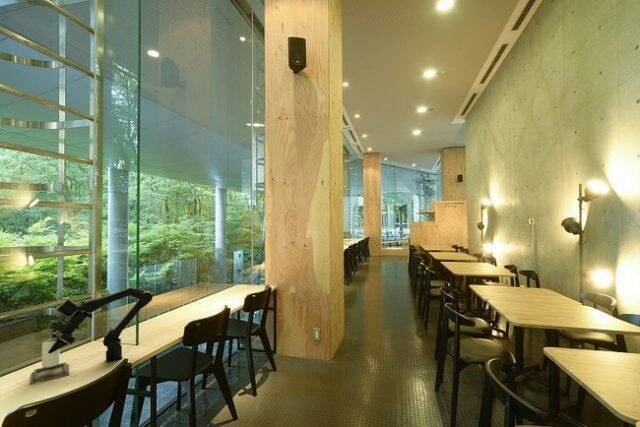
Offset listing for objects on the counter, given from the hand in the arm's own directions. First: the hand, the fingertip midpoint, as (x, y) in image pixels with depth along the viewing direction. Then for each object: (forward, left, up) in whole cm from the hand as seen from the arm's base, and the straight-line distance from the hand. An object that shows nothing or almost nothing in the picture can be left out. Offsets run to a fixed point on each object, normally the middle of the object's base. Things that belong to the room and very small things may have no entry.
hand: (47, 351), depth 153 cm
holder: (-1, 0, -11) cm, 11 cm away
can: (-1, 0, -7) cm, 7 cm away
